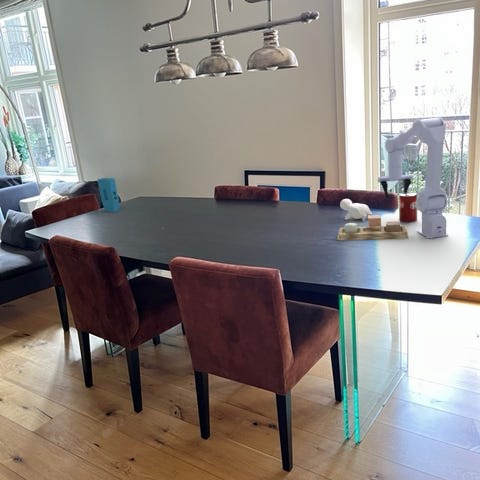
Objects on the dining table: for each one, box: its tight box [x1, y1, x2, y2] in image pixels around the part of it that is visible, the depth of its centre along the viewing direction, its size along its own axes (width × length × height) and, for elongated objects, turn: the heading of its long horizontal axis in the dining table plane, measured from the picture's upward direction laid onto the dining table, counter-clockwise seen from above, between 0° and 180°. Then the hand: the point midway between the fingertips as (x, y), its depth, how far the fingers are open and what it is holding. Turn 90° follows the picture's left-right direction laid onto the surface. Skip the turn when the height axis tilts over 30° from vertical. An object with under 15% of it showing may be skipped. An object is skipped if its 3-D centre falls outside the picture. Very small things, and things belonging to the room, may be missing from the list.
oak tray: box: [337, 225, 409, 241], centre depth 190 cm, size 27×10×2 cm, turn 76°
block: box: [97, 177, 120, 213], centre depth 290 cm, size 12×5×20 cm, turn 51°
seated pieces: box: [344, 220, 401, 233], centre depth 189 cm, size 21×5×4 cm, turn 76°
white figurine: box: [339, 198, 373, 222], centre depth 216 cm, size 9×8×15 cm
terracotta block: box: [367, 214, 382, 227], centre depth 199 cm, size 5×5×5 cm
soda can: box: [398, 191, 418, 224], centre depth 201 cm, size 7×7×12 cm
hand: (395, 197), depth 206 cm, fingers open, 7 cm apart
